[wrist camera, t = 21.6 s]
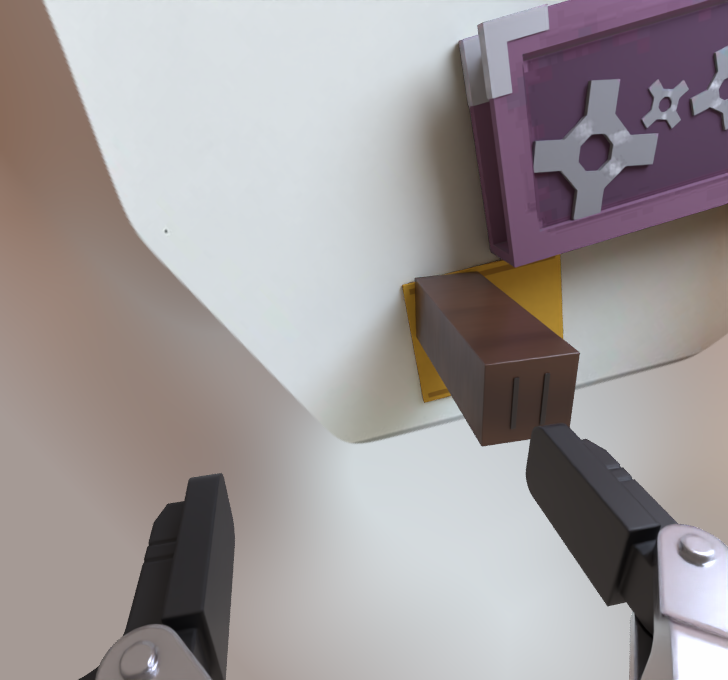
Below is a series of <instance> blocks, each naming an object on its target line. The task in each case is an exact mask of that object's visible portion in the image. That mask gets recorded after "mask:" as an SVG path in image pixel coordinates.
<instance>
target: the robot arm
mask: <svg viewBox="0 0 728 680" xmlns="http://www.w3.org/2000/svg"><path fill="white" fill-rule="evenodd" d="M526 480H527V484H528V488H529V490H530V493H531V494H532V496H533V498H534V499H535V501H536V502H537V504H538V505H539V506H540V508H541V509H542V511H543V512H544V514H545V515H546V517H547V518H548V520H549V521H550V523H551V524H552V525H553V527H554V528H555V530H556V531H557V533H558V534H559V536H560V537H561V539H562V540H563V542H564V543H565V545H566V546H567V548H568V549H569V551H570V552H571V553H572V555H573V556H574V558H575V559H576V561H577V562H578V564H579V565H580V567H581V568H582V569H583V571H584V573H585V574H586V575H587V577H588V578H589V580H590V581H591V583H592V584H593V586H594V587H595V589H596V590H597V592H598V593H599V594H600V596H601V597H602V599H603V600H604V602H605V603H606V605H607V606H611V605H616V604H620V603H625V602H627V604H628V605H629V607H630V608H631V609H632V611H633V612H632V615H631V620H630V671H629V680H728V547H727V546H726V545H725V544H724V543H723V542H722V541H721V540H719V539H718V538H716V537H715V536H714V535H712V534H710V533H708V532H706V531H704V530H702V529H700V528H696V527H694V526H689V525H684V524H678V523H677V522H676V521H675V520H674V519H673V518H672V517H671V516H670V515H669V514H668V513H667V512H666V511H665V510H664V509H663V508H662V507H661V506H660V505H659V504H658V503H657V502H656V501H655V500H654V499H653V498H652V497H651V496H650V495H649V494H648V493H647V492H646V491H645V490H644V488H643V487H642V486H641V485H639V483H638V482H636V481H635V480H633V479H632V477H631V475H630V474H629V473H628V472H627V471H626V470H625V469H624V468H621V467H620V464H619V463H618V462H617V461H616V460H615V459H614V458H613V457H612V456H611V455H610V454H609V453H608V452H607V451H606V450H605V449H603V448H601V447H599V446H598V445H596V444H594V443H592V442H591V441H589V440H587V439H583V440H581V439H580V438H579V437H578V436H577V435H576V434H575V433H574V432H573V431H572V430H571V429H570V428H569V427H568V426H567V425H566V424H565V423H557V424H550V425H543V426H537V427H534V428H533V430H532V433H531V439H530V446H529V453H528V460H527V466H526ZM234 546H235V534H234V523H233V517H232V513H231V508H230V503H229V499H228V495H227V490H226V485H225V481H224V477H223V474H222V473H219V474H212V475H206V476H199V477H193V478H190V479H189V481H188V486H187V491H186V496H185V501H183V502H177V503H170V504H167V505H166V507H165V508H164V510H163V511H162V512H161V514H160V515H159V516H158V518H157V519H156V520H155V522H154V524H153V528H152V531H151V535H150V539H149V546H148V547H147V551H146V554H145V558H144V563H143V565H142V570H141V573H140V577H139V581H138V585H137V588H136V592H135V596H134V600H133V603H132V607H131V611H130V615H129V618H128V622H127V626H126V629H125V632H124V634H123V637H121V638H120V639H119V640H118V641H117V642H116V643H115V644H114V645H113V646H112V647H111V648H110V649H109V650H108V652H107V653H106V654H105V656H104V657H103V659H102V661H101V663H100V665H99V666H98V667H97V668H96V669H94V670H93V671H92V672H90V673H89V674H87V675H86V676H84V677H82V678H80V679H79V680H226V666H227V651H228V637H229V622H230V607H231V592H232V578H233V563H234V562H233V561H234V548H235V547H234Z"/></svg>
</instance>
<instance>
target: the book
mask: <svg viewBox="0 0 728 680" xmlns="http://www.w3.org/2000/svg"><path fill="white" fill-rule="evenodd" d="M477 26H478V34H479V35H476V36H473V37H469V38H466V39H463V40H460V41H459V47H460V53H461V60H462V67H463V74H464V81H465V87H466V94H467V101H468V107H470V114H471V121H472V128H473V134H474V141H475V148H476V155H477V162H478V168H479V175H480V182H481V189H482V196H483V203H484V209H485V216H486V223H487V230H488V237H489V243H490V250H491V253H493V254H495V255H496V256H498V257H499V258H501V259H502V260H504V261H506V262H507V263H509V264H510V265H512V266H513V267H519V266H522V265H525V264H529V263H532V262H535V261H539V260H542V259H545V258H548V257H552V256H555V255H558V254H562V253H565V252H568V251H572V250H575V249H578V248H582V247H585V246H588V245H592V244H595V243H598V242H602V241H605V240H608V239H612V238H615V237H618V236H622V235H625V234H628V233H632V232H635V231H638V230H642V229H645V228H648V227H651V226H655V225H658V224H661V223H665V222H668V221H671V220H675V219H678V218H681V217H685V216H688V215H691V214H695V213H698V212H701V211H705V210H708V209H711V208H715V207H718V206H721V205H725V204H728V0H568V1H565V2H561V3H558V4H554V5H551V6H548V5H547V4H545V5H542V6H538V7H535V8H531V9H528V10H524V11H521V12H517V13H514V14H510V15H507V16H503V17H500V18H497V19H493V20H490V21H486V22H483V23H481V24H479V25H477Z"/></svg>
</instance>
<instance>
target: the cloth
mask: <svg viewBox="0 0 728 680" xmlns="http://www.w3.org/2000/svg"><path fill="white" fill-rule="evenodd" d="M473 271H478V272H479V273H480V274H482V275H483V276H484V277H485V278H487V279H488V280H489V281H490V282H492V283H493V284H494V285H495V286H497V287H498V288H499V289H501V290H502V291H503V292H504V293H506V294H507V295H508V296H509V297H511V298H512V299H513V300H514V301H516V302H517V303H518V304H519V305H521V306H522V307H523V308H524V309H526V310H527V311H528V312H529V313H531V314H532V315H533V316H534V317H536V318H537V319H538V320H539V321H541V322H542V323H543V324H545V325H546V326H547V327H548V328H550V329H551V330H552V331H553V332H555V333H556V334H557V335H558V336H560V337H561V338H562V339H563V318H562V288H561V259H560V254H558V255H555V256H552V257H548V258H545V259H542V260H539V261H535V262H532V263H529V264H525V265H522V266H519V267H513V266H512V265H510V264H509V263H507V262H506V261H504V260H499V261H495V262H491V263H487V264H483V265H479V266H475V267H471V268H467V269H463V270H459V271H455V272H451V273H447V274H455V273H464V272H473ZM444 275H446V274H444ZM402 288H403V293H404V298H405V304H406V309H407V314H408V320H409V325H410V331H411V336H412V341H413V347H414V352H415V357H416V363H417V368H418V374H419V379H420V384H421V390H422V395H423V400H424V403H425V402H429V401H433V400H437V399H441V398H444V397H448V396H451V394H450V393H449V391H448V389H447V387H446V386H445V384H444V382H443V381H442V379H441V377H440V376H439V374H438V372H437V371H436V369H435V367H434V366H433V364H432V362H431V361H430V359H429V357H428V356H427V354H426V352H425V351H424V349H423V347H422V346H421V344H420V342H419V341H418V339H417V337H416V309H415V282H412V283H408V284H404V285H402Z"/></svg>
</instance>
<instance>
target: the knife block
mask: <svg viewBox="0 0 728 680" xmlns="http://www.w3.org/2000/svg"><path fill="white" fill-rule="evenodd" d="M415 309H416V337H417V339H418V341H419V342H420V344H421V346H422V347H423V349H424V351H425V352H426V354H427V356H428V357H429V359H430V361H431V362H432V364H433V366H434V367H435V369H436V371H437V372H438V374H439V376H440V377H441V379H442V381H443V382H444V384H445V386H446V387H447V389H448V391H449V393H450V394H451V396H452V398H453V399H454V401H455V403H456V404H457V406H458V408H459V409H460V411H461V413H462V414H463V416H464V418H465V419H466V421H467V423H468V424H469V426H470V427H471V429H472V431H473V433H474V434H475V435H476V438H477V439H478V441H479V443H480V444H481V446H488V445H495V444H501V443H508V442H515V441H521V440H528V439H531V433H532V430H533V428H534V427H537V426H543V425H550V424H557V423H565V424H566V425H567V426H568V427H569V428H570V421H571V413H572V406H573V399H574V392H575V384H576V377H577V370H578V362H579V355H580V353H579V352H578V351H577V350H576V349H575V348H573V347H572V346H571V345H570V344H568V343H567V342H566V341H565V340H563V339H562V338H561V337H560V336H558V335H557V334H556V333H555V332H553V331H552V330H551V329H550V328H548V327H547V326H546V325H545V324H543V323H542V322H541V321H539V320H538V319H537V318H536V317H534V316H533V315H532V314H531V313H529V312H528V311H527V310H526V309H524V308H523V307H522V306H521V305H519V304H518V303H517V302H516V301H514V300H513V299H512V298H511V297H509V296H508V295H507V294H506V293H504V292H503V291H502V290H501V289H499V288H498V287H497V286H495V285H494V284H493V283H492V282H490V281H489V280H488V279H487V278H485V277H484V276H483V275H482V274H480V273H479V272H478V271H473V272H464V273H455V274H446V275H437V276H429V277H420V278H415Z"/></svg>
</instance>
